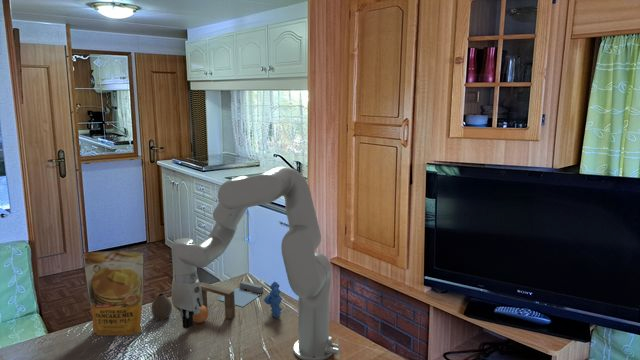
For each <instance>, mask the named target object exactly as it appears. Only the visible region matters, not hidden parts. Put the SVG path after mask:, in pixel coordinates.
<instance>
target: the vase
mask: <svg viewBox="0 0 640 360" xmlns="http://www.w3.org/2000/svg"><path fill="white" fill-rule="evenodd" d="M150 308H151V314H152V316H153V317H154V318H155V320H158V321H162V320H167V318H169V317H170V316H171V313H172V312H173V311H172V310H173V304H172V301H171V300H170V299H169V298H168V297H167V296H166V294H165V293H163V292H162V293H161V292H160V293H157V295H156V297H155V299H154V300H153V301H152V304H151V307H150Z"/></svg>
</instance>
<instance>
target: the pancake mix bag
mask: <svg viewBox="0 0 640 360" xmlns="http://www.w3.org/2000/svg"><path fill="white" fill-rule="evenodd" d="M145 260H146V259H145V253H143V252H141V251H139V250H124V251H117V250H110V251H108V250H106V251H105V250H104V251H89V252H86V253H83V254H82V261H83V262H82V263H83V270H84V274H85V282H86V287H87V293H88V297H89V305H90V310H91V315H92V331H91V332H92V334H96V335H97V336H98V337H120V336H121V337H129V336H130V337H131V336H135V335H137V334H140V333H143V330H142V327H141V323H142V312H143V310H142V309H143V297H144V286H145V262H146V261H145Z"/></svg>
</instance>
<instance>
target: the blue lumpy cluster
mask: <svg viewBox="0 0 640 360" xmlns="http://www.w3.org/2000/svg"><path fill="white" fill-rule="evenodd" d="M279 287H280V284H279V283H278V282H277V281H273V282H272V283H271V285H270V286H269V288H270V289H271V290H270V292H269V294H267V295H265V297H264V298H263V302H264V303H265V304H266V305H269V306H270V308H271V309H270V311H271V315H272V316H273V317H274V318H279V317H280V315H281V314H282V307H280V304H281V302H282V300H283V298H282V296H281V295H280V293H281V290H280V288H279Z"/></svg>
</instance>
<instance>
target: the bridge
mask: <svg viewBox="0 0 640 360" xmlns="http://www.w3.org/2000/svg"><path fill="white" fill-rule="evenodd" d="M200 285H201V290H202V298H203V305H204V306H205V307H206V308H207V309H208V292H210V293H212V294H217V295H220V296H222V297H223V296H224V297H225V302H224V318H225V319H227V320H231V319H232V318H234V317H235V316H236V311H235V310H236V305H235V300H234V291H233V290H234V289H230V288H226V287H221V286H219V285H218V286H217V285H215V284H211V283H207V282H203V281H202V282H200Z"/></svg>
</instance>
